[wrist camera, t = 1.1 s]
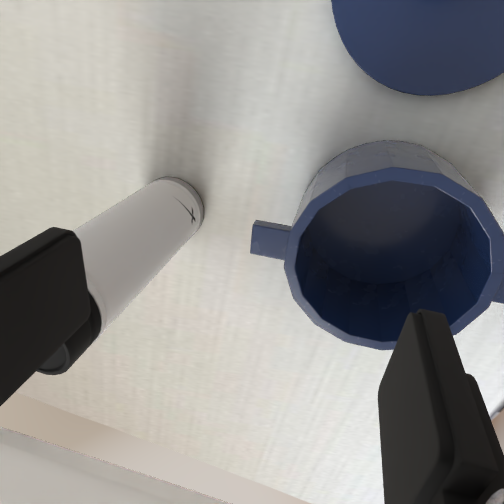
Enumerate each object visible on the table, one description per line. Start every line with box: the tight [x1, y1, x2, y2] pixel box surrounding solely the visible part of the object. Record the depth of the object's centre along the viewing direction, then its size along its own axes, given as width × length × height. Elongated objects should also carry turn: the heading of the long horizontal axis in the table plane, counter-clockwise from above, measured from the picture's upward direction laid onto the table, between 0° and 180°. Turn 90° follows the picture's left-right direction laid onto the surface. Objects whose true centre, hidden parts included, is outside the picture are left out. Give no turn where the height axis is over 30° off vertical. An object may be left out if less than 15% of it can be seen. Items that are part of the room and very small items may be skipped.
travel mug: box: [37, 177, 204, 375], centre depth 27 cm, size 6×7×20 cm
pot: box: [250, 140, 504, 350], centre depth 28 cm, size 14×19×8 cm
